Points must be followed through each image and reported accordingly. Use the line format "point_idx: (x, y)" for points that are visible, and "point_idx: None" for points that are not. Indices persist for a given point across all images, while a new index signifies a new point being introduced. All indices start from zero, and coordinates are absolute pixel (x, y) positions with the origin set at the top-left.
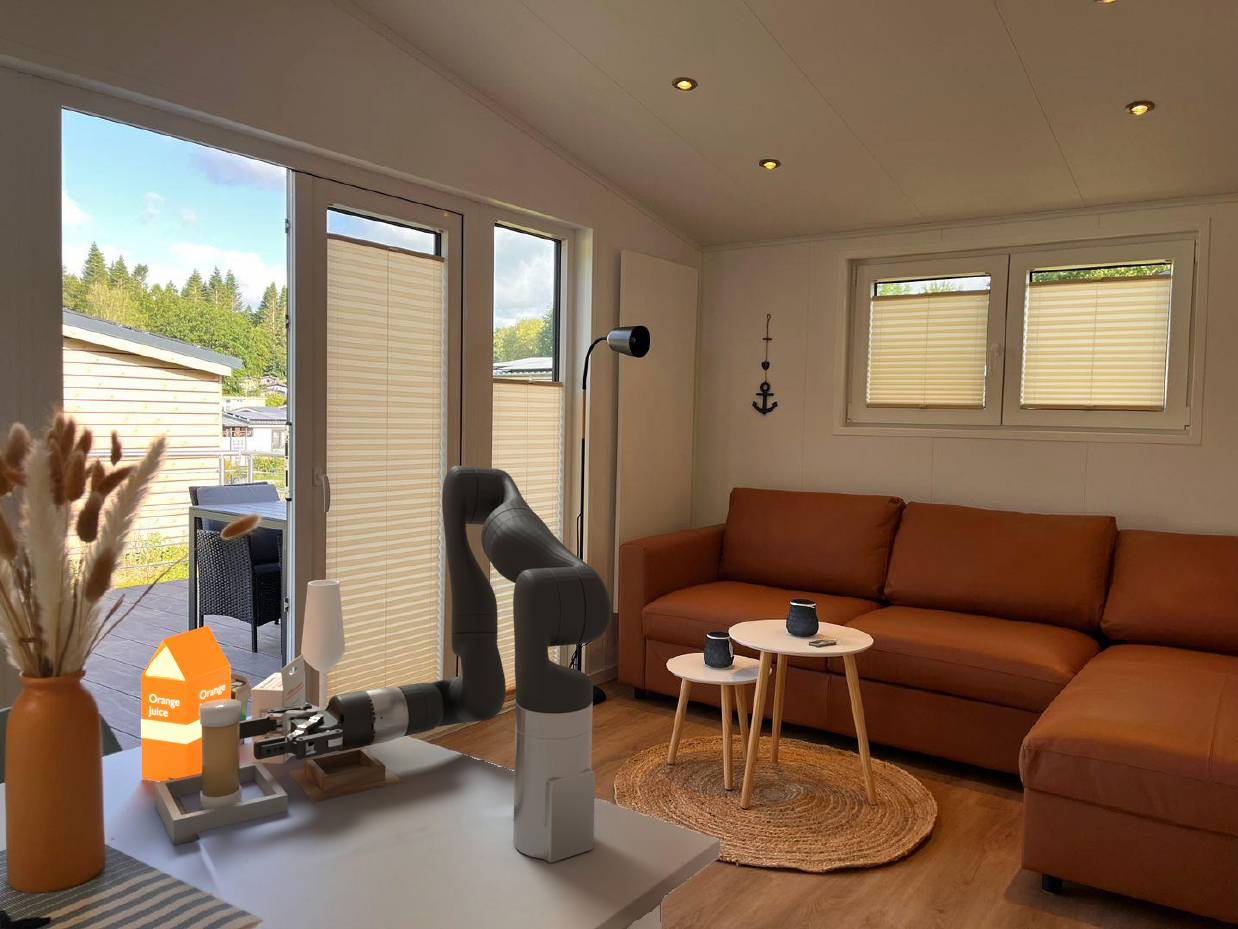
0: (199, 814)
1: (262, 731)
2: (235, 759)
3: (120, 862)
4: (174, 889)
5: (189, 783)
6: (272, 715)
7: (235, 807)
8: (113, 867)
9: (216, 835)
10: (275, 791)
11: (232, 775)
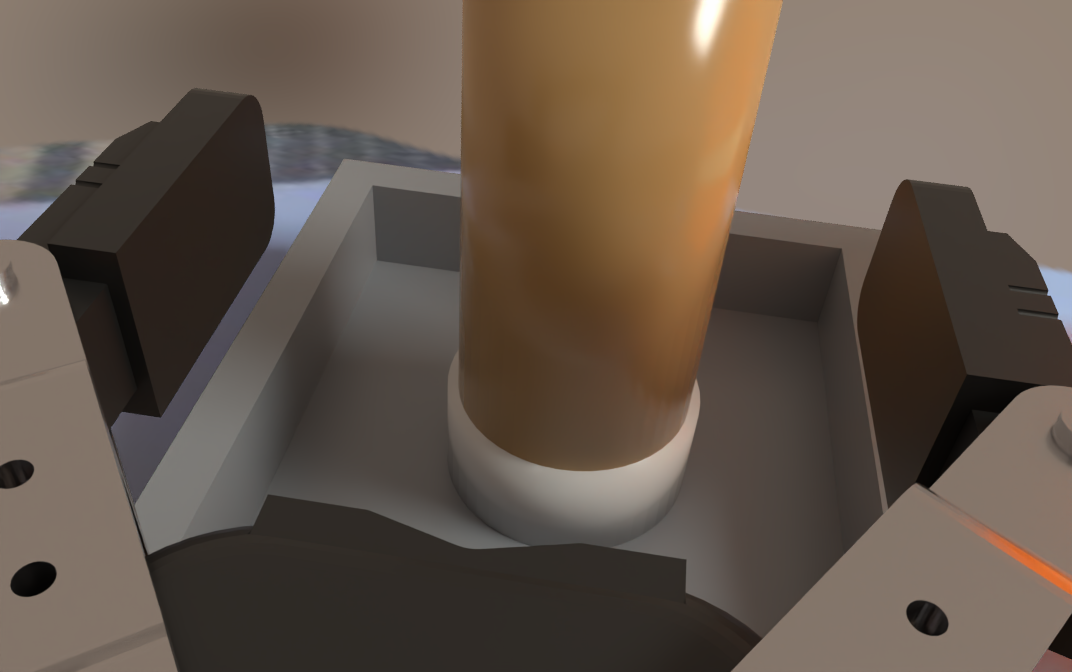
0: (310, 222)
1: (896, 453)
2: (476, 226)
3: (376, 151)
4: (15, 176)
5: (846, 352)
6: (1044, 438)
7: (238, 340)
8: (358, 135)
9: None
10: None
11: (461, 301)
